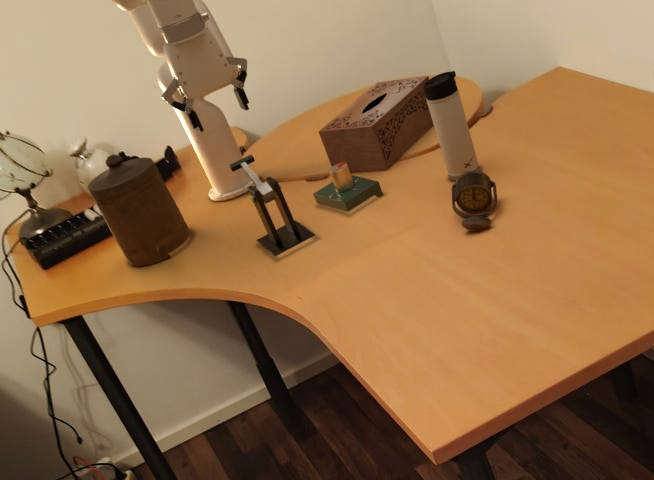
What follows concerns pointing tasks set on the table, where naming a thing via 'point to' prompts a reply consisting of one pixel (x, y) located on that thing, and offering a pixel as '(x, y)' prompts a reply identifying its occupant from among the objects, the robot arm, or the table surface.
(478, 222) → the vintage desk clock
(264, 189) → the press lever
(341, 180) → the knob
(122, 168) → the wooden container
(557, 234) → the table surface
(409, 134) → the tissue box cover
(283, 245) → the black lever stand
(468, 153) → the travel mug
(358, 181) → the dial panel
